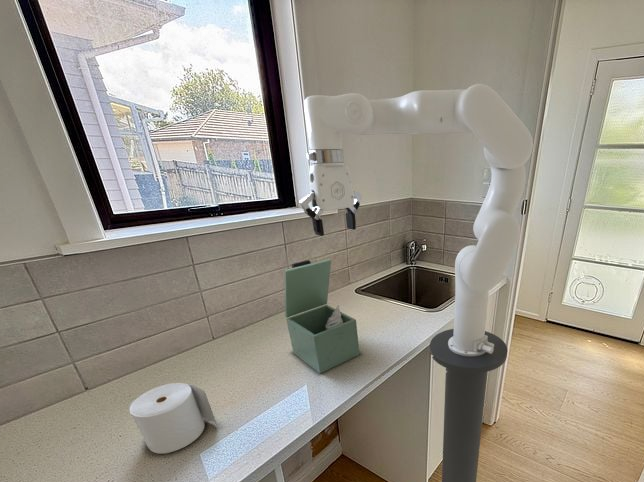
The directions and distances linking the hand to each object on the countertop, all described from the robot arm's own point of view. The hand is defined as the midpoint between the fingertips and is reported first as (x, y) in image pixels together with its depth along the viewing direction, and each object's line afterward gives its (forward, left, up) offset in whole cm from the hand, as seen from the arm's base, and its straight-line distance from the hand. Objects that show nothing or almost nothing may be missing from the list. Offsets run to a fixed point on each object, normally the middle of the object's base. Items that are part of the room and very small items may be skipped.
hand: (336, 231), depth 87 cm
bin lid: (+9, +6, -17) cm, 20 cm away
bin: (+4, +6, -36) cm, 37 cm away
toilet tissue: (-1, +46, -36) cm, 59 cm away
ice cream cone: (+3, +5, -36) cm, 36 cm away
